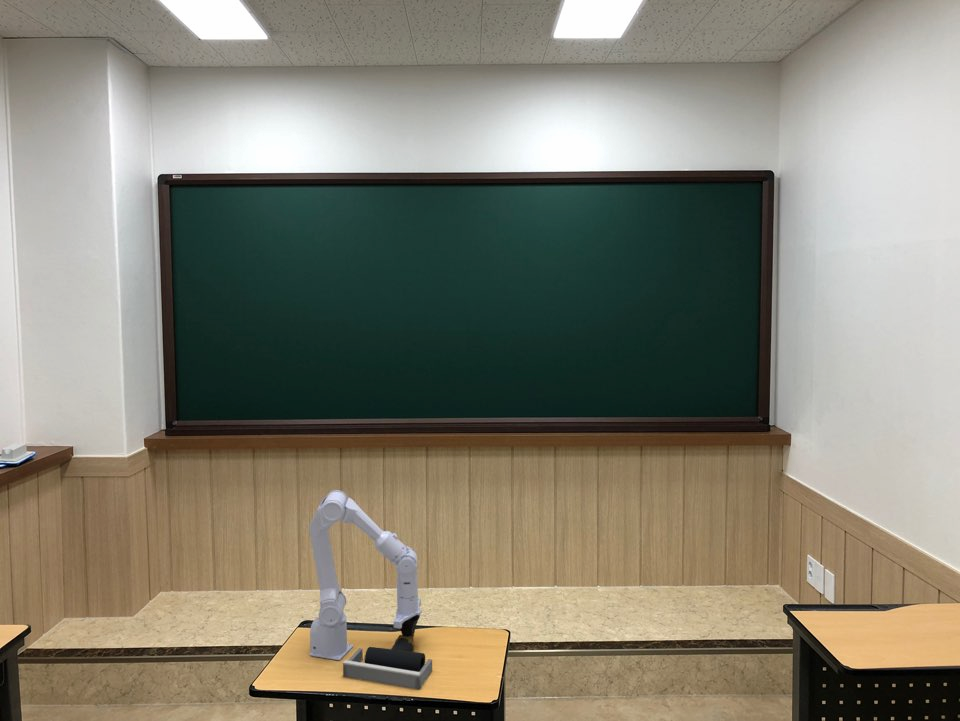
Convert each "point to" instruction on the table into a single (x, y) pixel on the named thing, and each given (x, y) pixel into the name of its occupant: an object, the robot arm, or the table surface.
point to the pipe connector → (397, 655)
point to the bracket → (385, 672)
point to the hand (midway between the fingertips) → (408, 641)
